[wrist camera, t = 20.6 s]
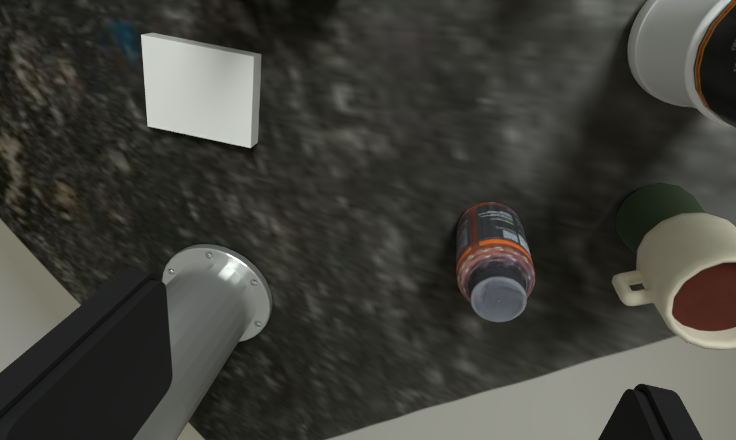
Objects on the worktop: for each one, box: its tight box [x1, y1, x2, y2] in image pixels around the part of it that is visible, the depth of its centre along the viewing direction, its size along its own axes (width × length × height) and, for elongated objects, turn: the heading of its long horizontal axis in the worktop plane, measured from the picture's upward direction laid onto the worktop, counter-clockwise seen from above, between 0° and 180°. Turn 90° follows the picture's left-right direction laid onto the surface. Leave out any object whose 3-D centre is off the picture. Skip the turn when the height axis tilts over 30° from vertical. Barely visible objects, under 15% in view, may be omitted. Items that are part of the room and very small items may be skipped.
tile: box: [141, 33, 261, 148], centre depth 42 cm, size 8×2×10 cm
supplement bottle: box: [456, 202, 535, 322], centre depth 38 cm, size 6×6×11 cm
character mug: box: [612, 183, 736, 350], centre depth 34 cm, size 11×7×13 cm, turn 111°
